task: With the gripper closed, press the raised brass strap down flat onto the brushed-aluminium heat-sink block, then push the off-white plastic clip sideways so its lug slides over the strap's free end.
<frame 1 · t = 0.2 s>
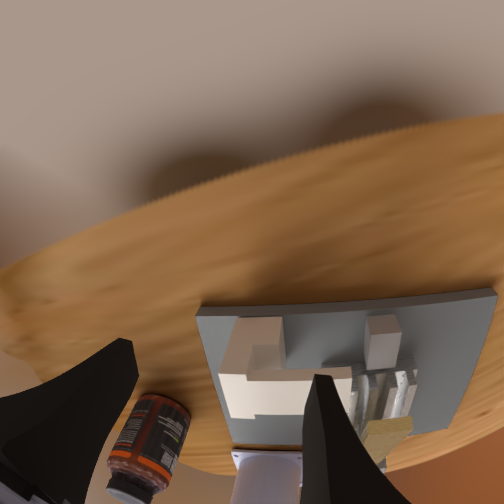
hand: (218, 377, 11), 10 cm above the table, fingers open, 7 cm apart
strap: (370, 451, 17), point 7 cm above the table, hinge at 18.0°
clip: (289, 367, 18), point 4 cm above the table, slide at 0.0 cm
supplement bottle: (165, 408, 29), on the table
heatsink: (364, 391, 22), resting on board
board: (350, 381, 24), on the table
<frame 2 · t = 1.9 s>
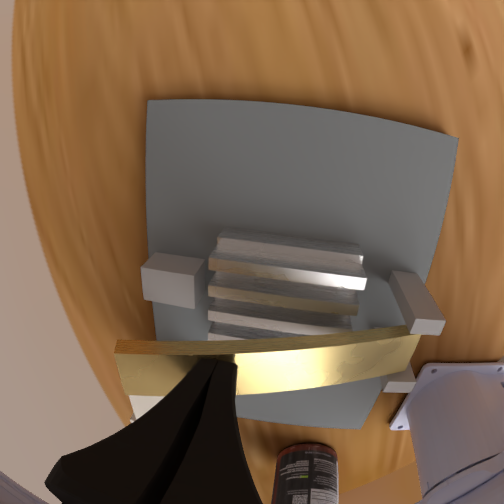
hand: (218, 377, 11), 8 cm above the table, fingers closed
strap: (282, 365, 12), point 7 cm above the table, hinge at 17.9°, touching gripper
clip: (170, 378, 18), point 4 cm above the table, slide at 0.0 cm
supplement bottle: (308, 453, 26), on the table
heatsink: (283, 294, 18), resting on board
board: (283, 298, 19), on the table
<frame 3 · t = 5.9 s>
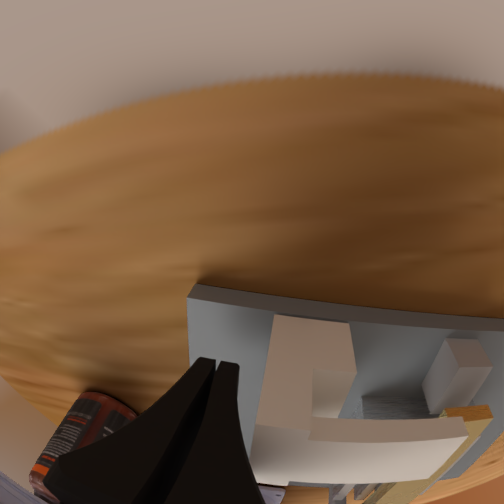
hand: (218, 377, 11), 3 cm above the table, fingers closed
strap: (405, 486, 11), point 5 cm above the table, hinge at 0.1°
clip: (353, 407, 10), point 4 cm above the table, slide at 0.6 cm, touching gripper
supplement bottle: (115, 412, 20), on the table
heatsink: (397, 434, 15), resting on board
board: (379, 419, 16), on the table
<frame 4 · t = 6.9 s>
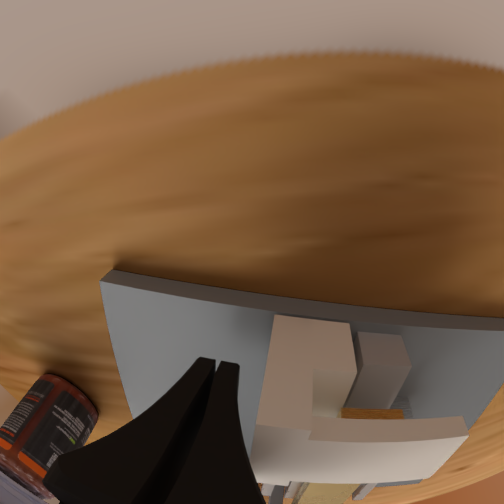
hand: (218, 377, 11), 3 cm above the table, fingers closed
strap: (327, 488, 12), point 5 cm above the table, hinge at 0.1°
clip: (354, 407, 10), point 4 cm above the table, slide at 5.0 cm, touching gripper
supplement bottle: (71, 396, 21), on the table
heatsink: (328, 433, 15), resting on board
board: (311, 416, 16), on the table
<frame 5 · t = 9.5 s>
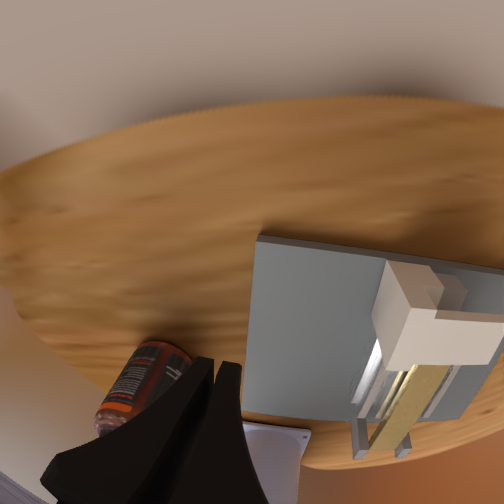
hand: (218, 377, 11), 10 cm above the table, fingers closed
strap: (414, 395, 18), point 5 cm above the table, hinge at 0.1°
clip: (439, 316, 16), point 4 cm above the table, slide at 5.0 cm
supplement bottle: (167, 362, 26), on the table
heatsink: (403, 360, 21), resting on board
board: (389, 349, 22), on the table
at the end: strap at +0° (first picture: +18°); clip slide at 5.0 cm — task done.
